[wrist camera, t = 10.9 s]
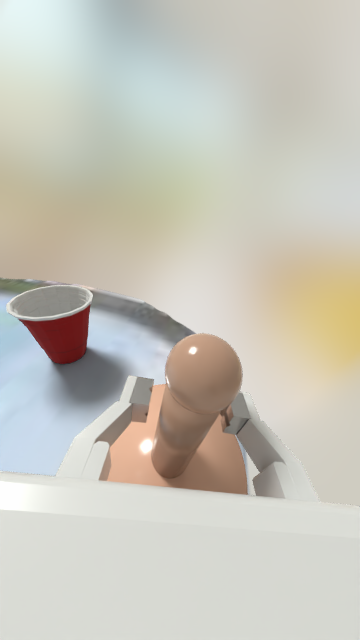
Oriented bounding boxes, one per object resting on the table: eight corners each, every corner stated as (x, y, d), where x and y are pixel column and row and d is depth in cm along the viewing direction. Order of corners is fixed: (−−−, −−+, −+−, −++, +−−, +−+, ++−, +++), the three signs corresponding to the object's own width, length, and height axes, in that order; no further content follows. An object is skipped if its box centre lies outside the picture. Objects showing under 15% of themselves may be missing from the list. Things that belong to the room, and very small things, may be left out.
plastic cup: (33, 341, 32) (12, 283, 26) (94, 331, 38) (89, 282, 31) (25, 385, 25) (-8, 320, 18) (103, 365, 30) (97, 310, 24)
